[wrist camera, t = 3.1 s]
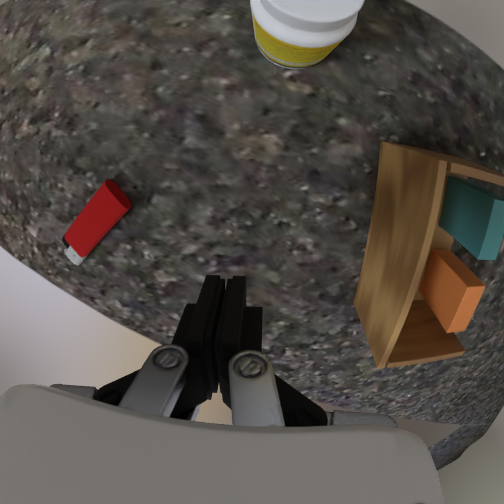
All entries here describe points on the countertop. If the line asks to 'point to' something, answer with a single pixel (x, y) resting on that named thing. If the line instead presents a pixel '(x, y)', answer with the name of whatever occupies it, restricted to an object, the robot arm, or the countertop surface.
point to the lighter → (95, 221)
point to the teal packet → (473, 217)
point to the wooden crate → (408, 254)
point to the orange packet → (450, 290)
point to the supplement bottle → (302, 29)
